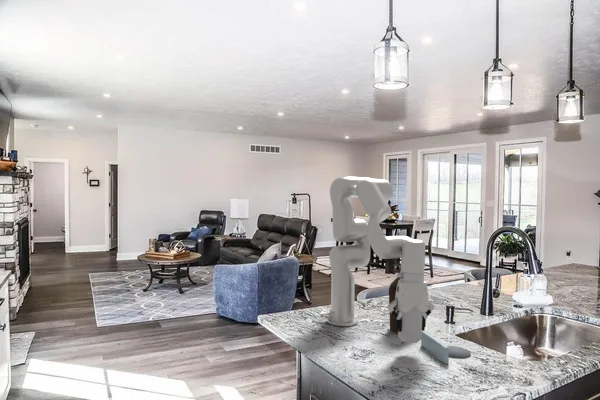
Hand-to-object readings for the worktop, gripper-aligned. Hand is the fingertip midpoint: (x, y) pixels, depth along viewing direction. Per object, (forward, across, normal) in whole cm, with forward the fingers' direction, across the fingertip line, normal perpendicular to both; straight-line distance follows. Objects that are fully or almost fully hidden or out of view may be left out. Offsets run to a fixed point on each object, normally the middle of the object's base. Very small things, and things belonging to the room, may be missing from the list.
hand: (410, 329), depth 139 cm
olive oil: (+9, +8, +23) cm, 26 cm away
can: (+4, 0, 0) cm, 4 cm away
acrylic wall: (+8, +8, -1) cm, 12 cm away
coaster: (+8, +16, -1) cm, 18 cm away
